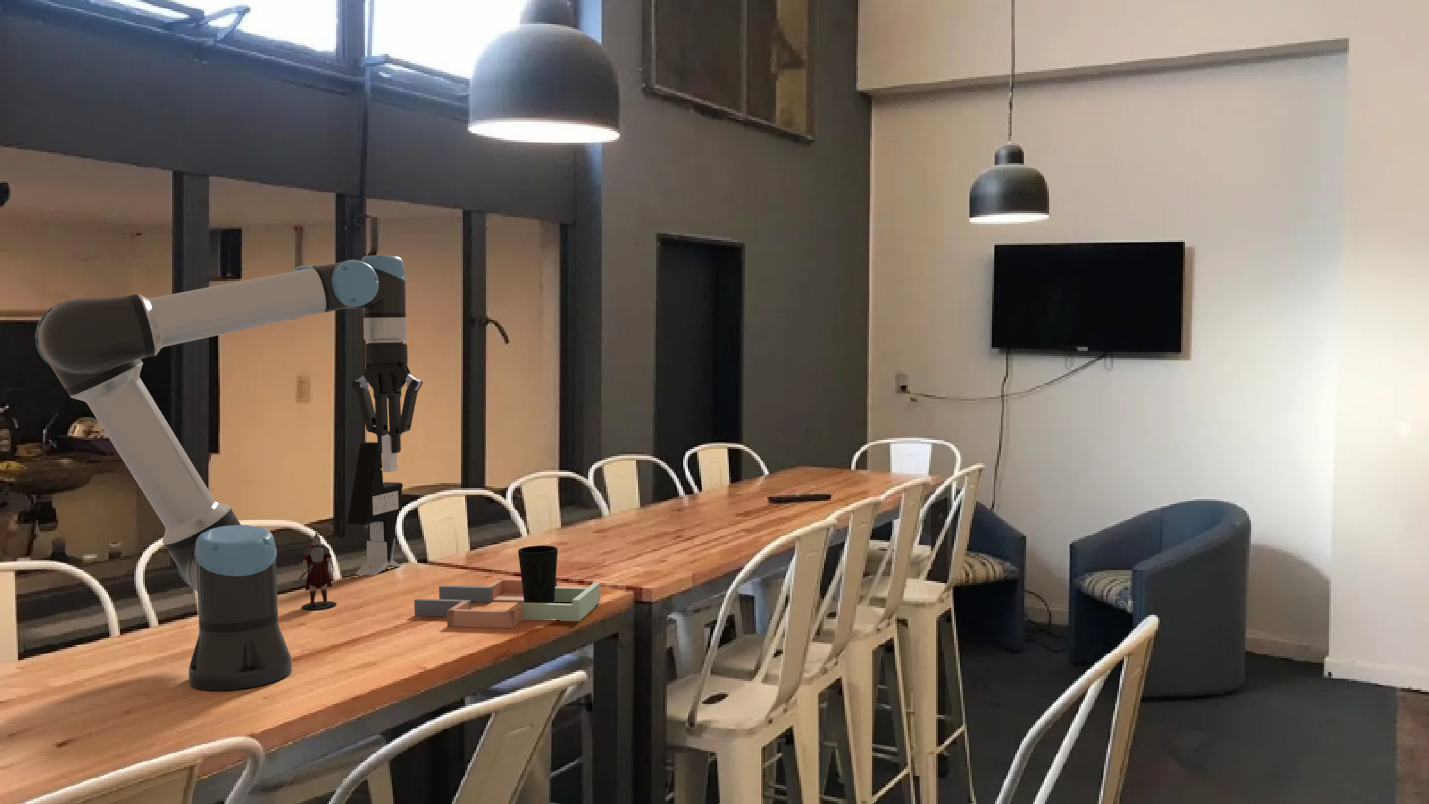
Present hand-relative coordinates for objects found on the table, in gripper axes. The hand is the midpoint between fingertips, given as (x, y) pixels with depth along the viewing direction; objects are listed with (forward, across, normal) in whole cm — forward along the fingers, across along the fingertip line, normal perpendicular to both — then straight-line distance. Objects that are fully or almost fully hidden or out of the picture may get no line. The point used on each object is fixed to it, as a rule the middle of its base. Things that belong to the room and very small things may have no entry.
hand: (390, 470), depth 206 cm
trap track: (+29, -15, -17) cm, 37 cm away
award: (+30, +28, -50) cm, 65 cm away
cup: (+30, -22, -18) cm, 41 cm away
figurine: (+30, +24, -16) cm, 41 cm away
